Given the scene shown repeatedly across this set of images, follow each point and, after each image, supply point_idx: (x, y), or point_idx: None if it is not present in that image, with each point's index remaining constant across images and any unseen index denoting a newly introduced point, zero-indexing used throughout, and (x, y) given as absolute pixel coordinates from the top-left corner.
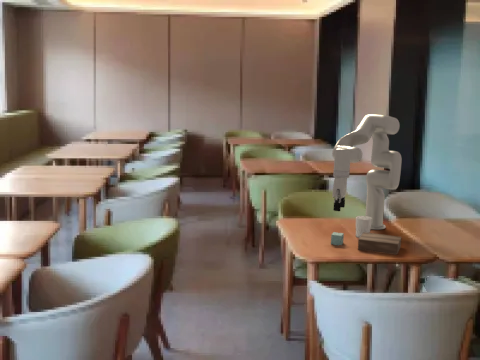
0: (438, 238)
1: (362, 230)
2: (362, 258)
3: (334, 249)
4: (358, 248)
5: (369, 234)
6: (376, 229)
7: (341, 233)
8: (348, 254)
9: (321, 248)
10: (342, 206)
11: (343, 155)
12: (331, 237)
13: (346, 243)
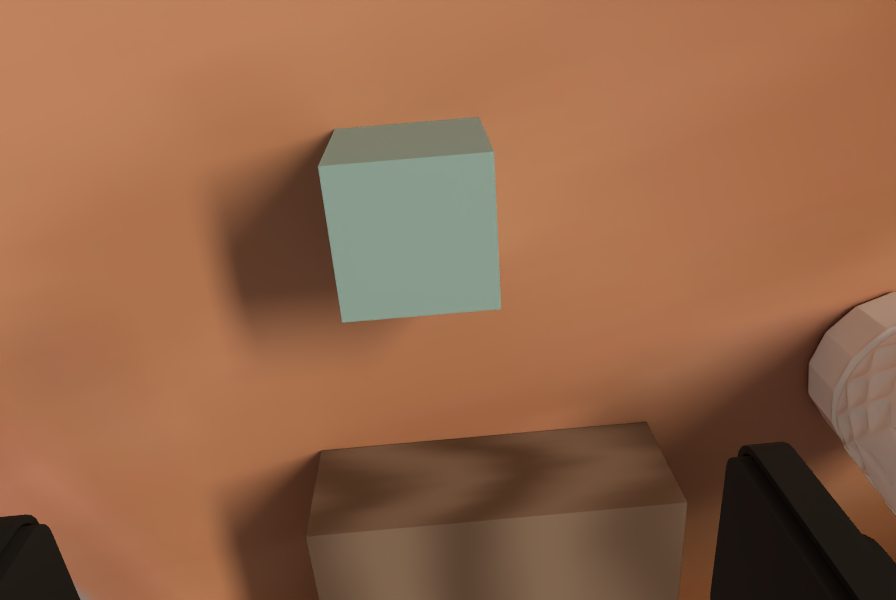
0: None
1: (853, 436)
2: None
3: (138, 242)
4: (320, 463)
5: (605, 574)
6: None
7: (477, 281)
8: (69, 423)
9: (52, 77)
10: (727, 591)
11: None
12: (324, 157)
13: None
